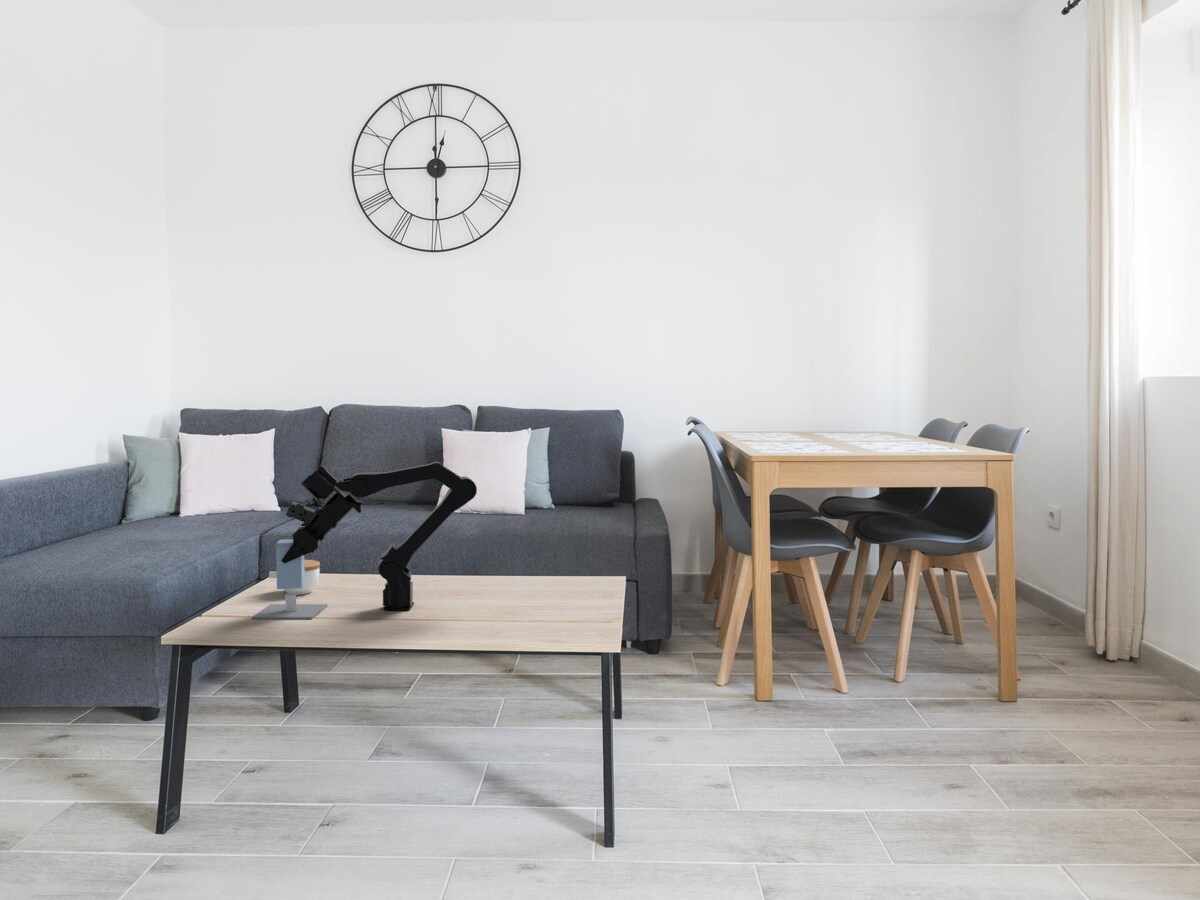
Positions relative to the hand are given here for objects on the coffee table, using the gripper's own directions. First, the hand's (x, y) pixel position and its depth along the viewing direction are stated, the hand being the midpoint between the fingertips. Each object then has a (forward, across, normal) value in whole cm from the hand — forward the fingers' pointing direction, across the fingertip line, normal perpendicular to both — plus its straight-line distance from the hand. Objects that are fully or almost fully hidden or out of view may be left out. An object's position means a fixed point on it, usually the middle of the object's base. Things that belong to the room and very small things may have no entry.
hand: (284, 559), depth 194 cm
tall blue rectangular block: (+4, 0, +6) cm, 7 cm away
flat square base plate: (+8, 0, +10) cm, 13 cm away
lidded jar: (+9, -22, +10) cm, 25 cm away
